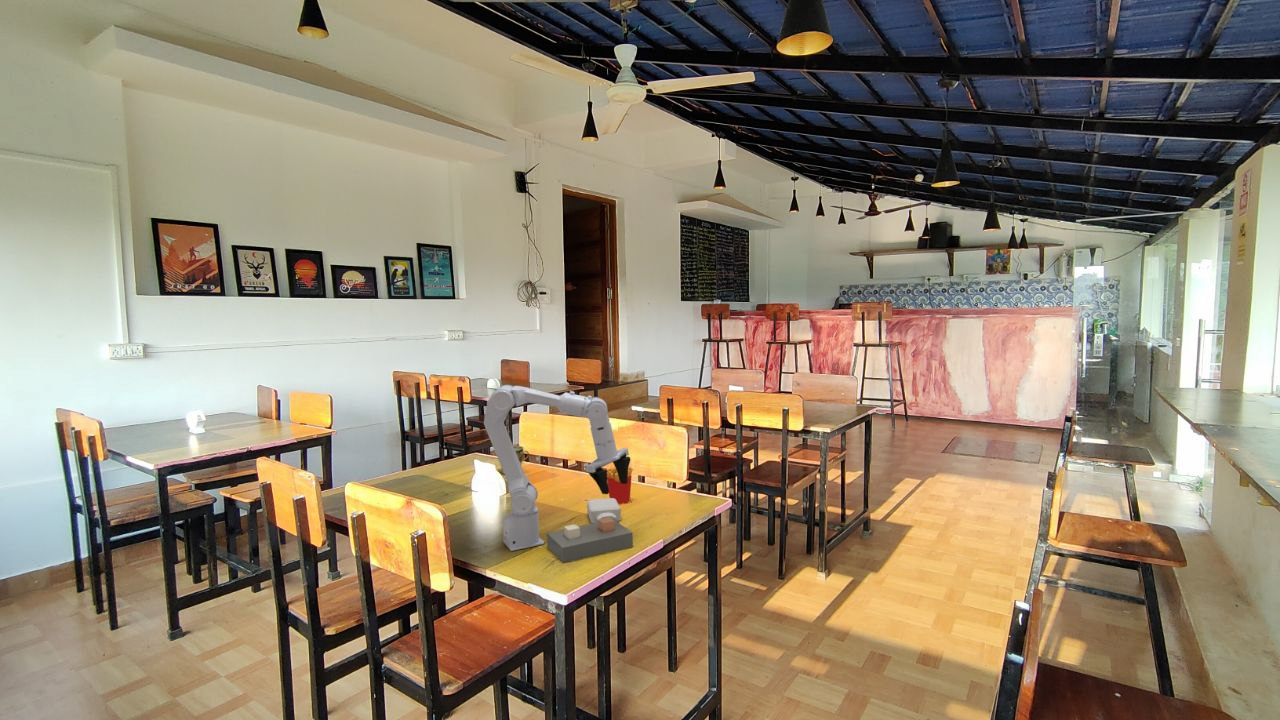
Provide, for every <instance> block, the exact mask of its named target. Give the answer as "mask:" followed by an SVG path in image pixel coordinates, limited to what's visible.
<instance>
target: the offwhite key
mask: <svg viewBox="0 0 1280 720" xmlns="http://www.w3.org/2000/svg"><path fill="white" fill-rule="evenodd" d="M563 529H564V537H565V538H566V539H568V540H571V539H576V538H580V528H579V527H578V525H577V524H570V525H564V526H563Z"/></svg>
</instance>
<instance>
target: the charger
mask: <svg viewBox="0 0 1280 720" xmlns="http://www.w3.org/2000/svg"><path fill="white" fill-rule="evenodd" d="M586 507H587V508H586V509H587V510H586V511H587V515H588V518H589V521H590V524H593V523H598V520H599V519H604V518H610V519H614V520H615V521H616V522H620V521H622V515H621V514H622V513H621V512H622V510H621V507H620V504H618V503H617V501H616V499H614V498H610V497H607V498H597V499H590V500H588V501H587V502H586Z"/></svg>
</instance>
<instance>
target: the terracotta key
mask: <svg viewBox="0 0 1280 720" xmlns="http://www.w3.org/2000/svg"><path fill="white" fill-rule="evenodd" d="M598 527H599V530H600V531H601V532H603V533H604V532H608V531H613V530H614V521H613V520H612V519H610V518H604V519H599V520H598Z"/></svg>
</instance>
